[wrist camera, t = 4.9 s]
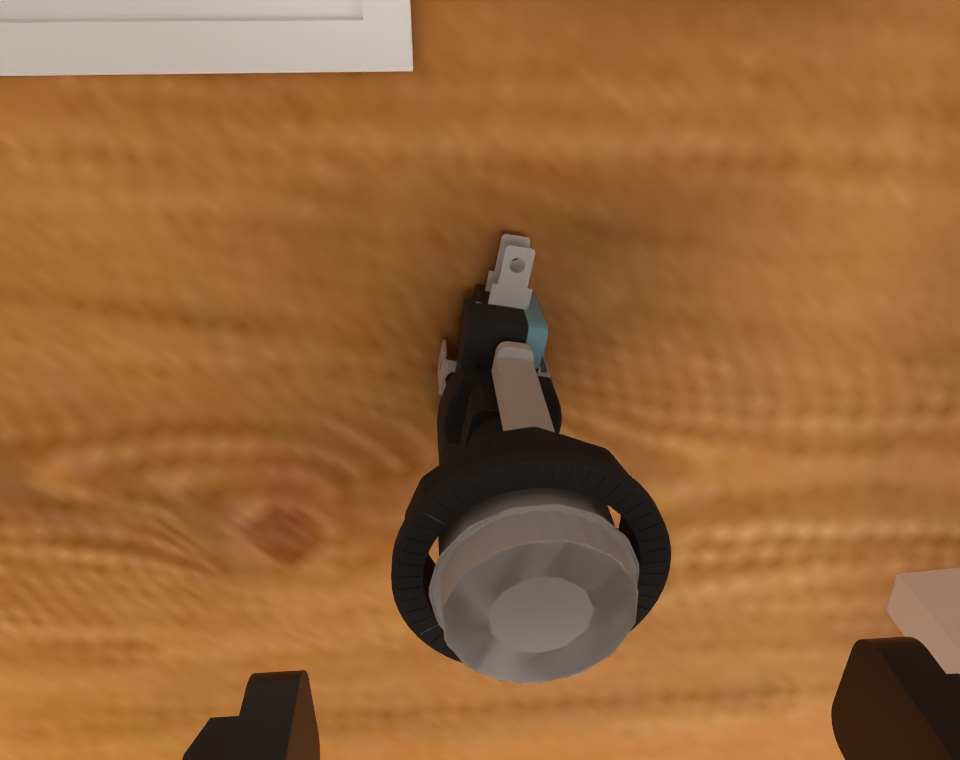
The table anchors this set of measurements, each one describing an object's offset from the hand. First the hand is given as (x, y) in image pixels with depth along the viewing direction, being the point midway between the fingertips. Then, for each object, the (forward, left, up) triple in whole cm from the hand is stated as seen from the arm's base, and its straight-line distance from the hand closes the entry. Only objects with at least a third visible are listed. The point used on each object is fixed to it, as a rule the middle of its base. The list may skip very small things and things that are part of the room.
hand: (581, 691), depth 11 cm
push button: (0, 0, -12) cm, 12 cm away
